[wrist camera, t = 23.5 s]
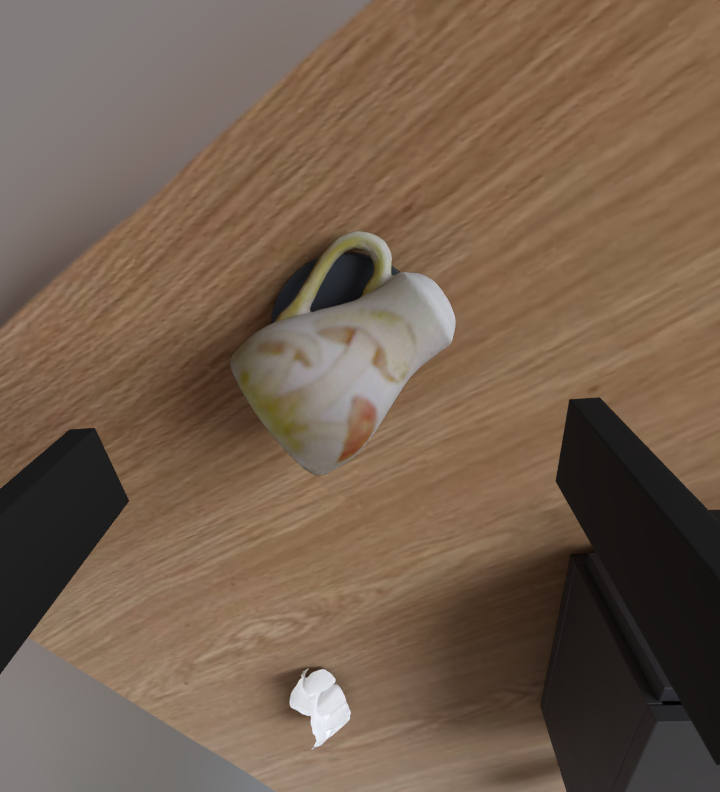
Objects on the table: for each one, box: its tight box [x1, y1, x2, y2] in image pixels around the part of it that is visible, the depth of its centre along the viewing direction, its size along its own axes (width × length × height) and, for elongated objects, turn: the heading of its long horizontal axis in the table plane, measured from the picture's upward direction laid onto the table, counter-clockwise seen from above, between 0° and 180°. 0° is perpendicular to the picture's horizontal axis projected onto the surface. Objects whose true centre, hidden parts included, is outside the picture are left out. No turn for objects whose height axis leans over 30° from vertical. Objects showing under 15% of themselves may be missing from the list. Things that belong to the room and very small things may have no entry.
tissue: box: [290, 668, 351, 749], centre depth 37 cm, size 6×8×4 cm
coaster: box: [271, 252, 400, 324], centre depth 22 cm, size 8×8×1 cm
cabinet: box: [541, 555, 720, 792], centre depth 29 cm, size 20×13×10 cm, turn 5°
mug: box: [230, 231, 455, 475], centre depth 19 cm, size 8×10×10 cm
